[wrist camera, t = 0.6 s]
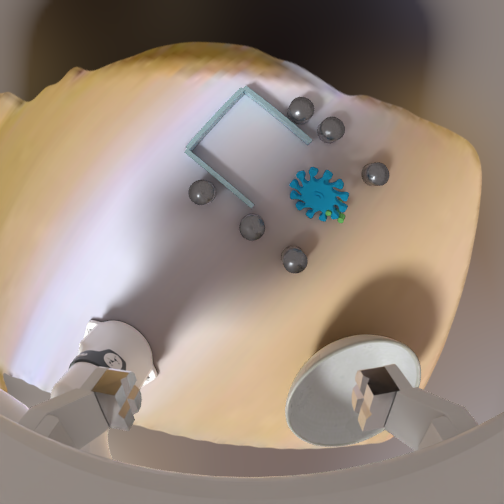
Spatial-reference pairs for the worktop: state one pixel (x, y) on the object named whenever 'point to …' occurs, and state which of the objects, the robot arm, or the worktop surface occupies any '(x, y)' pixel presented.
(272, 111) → the light blue u-shaped piece
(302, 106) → the spacers
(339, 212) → the gear
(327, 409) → the decorative bowl
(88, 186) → the worktop surface
